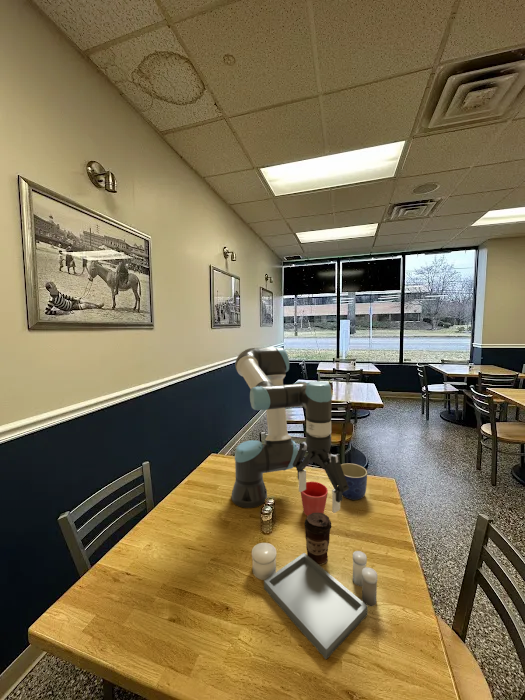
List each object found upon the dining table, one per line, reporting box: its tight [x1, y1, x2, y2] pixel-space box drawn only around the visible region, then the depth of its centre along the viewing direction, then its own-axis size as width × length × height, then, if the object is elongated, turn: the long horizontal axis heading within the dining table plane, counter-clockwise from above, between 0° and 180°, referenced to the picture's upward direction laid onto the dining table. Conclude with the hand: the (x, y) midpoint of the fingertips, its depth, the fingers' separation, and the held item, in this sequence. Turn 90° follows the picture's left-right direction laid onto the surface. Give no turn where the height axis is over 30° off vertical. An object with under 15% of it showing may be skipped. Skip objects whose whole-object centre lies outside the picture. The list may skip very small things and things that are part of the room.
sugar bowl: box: [251, 542, 277, 581], centre depth 87 cm, size 7×7×6 cm
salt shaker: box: [352, 550, 368, 587], centre depth 83 cm, size 4×4×8 cm
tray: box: [263, 552, 369, 660], centre depth 77 cm, size 22×16×2 cm
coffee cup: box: [303, 512, 332, 566], centre depth 91 cm, size 9×8×13 cm
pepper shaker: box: [361, 566, 378, 607], centre depth 77 cm, size 4×4×8 cm
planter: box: [340, 462, 368, 501], centre depth 125 cm, size 12×12×11 cm
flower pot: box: [300, 481, 329, 517], centre depth 114 cm, size 11×11×10 cm
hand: (318, 500), depth 90 cm, fingers open, 13 cm apart
